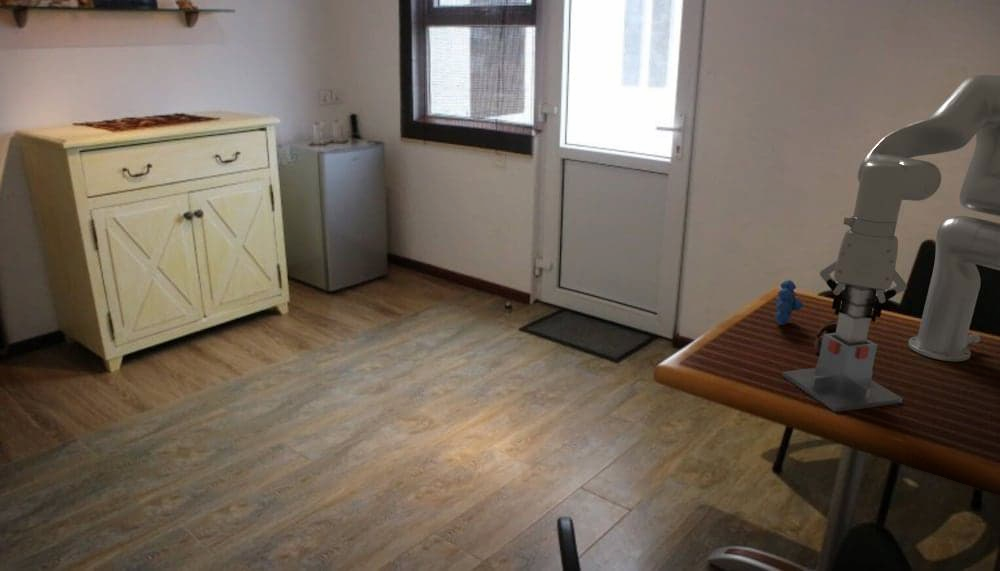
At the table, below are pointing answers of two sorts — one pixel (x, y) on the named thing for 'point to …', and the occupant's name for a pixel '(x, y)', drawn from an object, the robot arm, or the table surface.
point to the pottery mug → (829, 329)
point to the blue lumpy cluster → (786, 302)
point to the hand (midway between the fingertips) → (855, 315)
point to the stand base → (843, 377)
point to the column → (855, 315)
